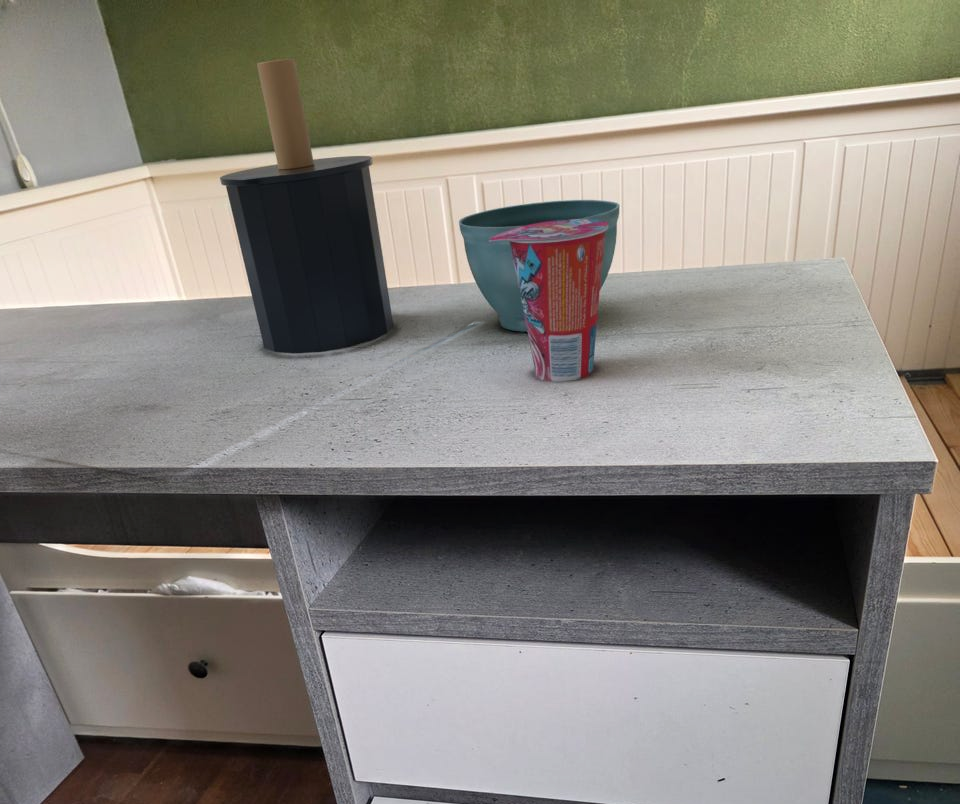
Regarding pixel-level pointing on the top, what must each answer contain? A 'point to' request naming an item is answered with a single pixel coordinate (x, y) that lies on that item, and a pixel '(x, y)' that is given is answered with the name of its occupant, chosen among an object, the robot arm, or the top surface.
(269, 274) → the trash can
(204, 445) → the top surface
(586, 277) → the cup
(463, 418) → the top surface
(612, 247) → the flower pot
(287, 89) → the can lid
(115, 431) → the top surface
